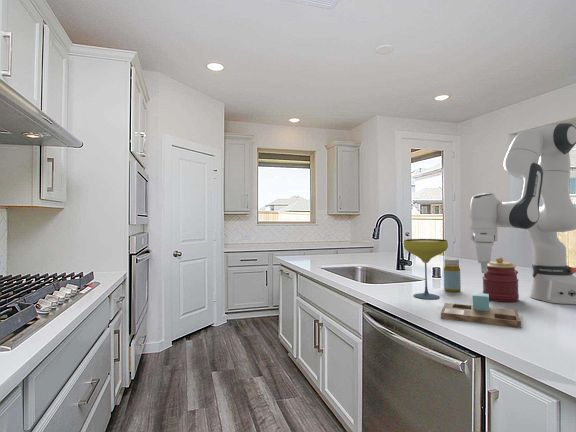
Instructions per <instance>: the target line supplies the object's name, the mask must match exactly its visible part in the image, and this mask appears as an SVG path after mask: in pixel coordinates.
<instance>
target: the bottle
mask: <svg viewBox="0 0 576 432" xmlns="http://www.w3.org/2000/svg"><path fill="white" fill-rule="evenodd" d="M443 286H444V287H443V288H444V290H445V292H451V293H459V292H461V288H462V287H461V268H460V259H459V258H453V257H449V258H447V257H445V258H444V267H443Z"/></svg>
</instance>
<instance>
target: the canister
mask: <svg viewBox="0 0 576 432" xmlns="http://www.w3.org/2000/svg"><path fill="white" fill-rule="evenodd" d="M516 267H517V266H516V265H515V264H513V263H512V262H509V261H504V259H503V257H501V256H498V257H496V258H495V261H492V260H491V261H490V263H487V273H483V276H482V293H484V294H489V301H494V302H500V303H501V302H502V303H516V302H518V301H519V298H520V293H519V279H518V274H519V270H516Z"/></svg>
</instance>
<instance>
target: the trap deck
mask: <svg viewBox="0 0 576 432" xmlns="http://www.w3.org/2000/svg"><path fill="white" fill-rule="evenodd" d="M440 319H442V320H453V321H459V322H460V321H461V322H467V323H469V322H470V323H478V324H485V325H493V326H500V327H501V326H502V327H508V328H509V327H510V328H519V329H522V321H521V317H520V314H519V312H518V309H513V308H512V309H511V308H499V307H491V306H489V311H483V310H473V304H472V305H470V304H462V303H461V304H460V303H452V302H451V303H450V302H444V305H443V306H442V309H441V311H440Z"/></svg>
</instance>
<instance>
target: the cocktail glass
mask: <svg viewBox="0 0 576 432" xmlns="http://www.w3.org/2000/svg"><path fill="white" fill-rule="evenodd" d="M403 247H404V249H405V250H406V251H407V252H408V253H410V254H412V255H413V256H415V257H417V258H419V259H420V260H421V261H422V263H424V273H425V274H424V275H425V276H424V283H425V284H424V286H425V287H424V292H423V293H422V292H420V293H419V292H418V293H415V294H413V297H414V298H417V299H420V300H427V301H428V300H430V301H431V300H439V299H440V298H441V296H440V295H438V294H433V293H430V292H429V289H428V275H427V274H428V272H427V264H428V263H429V262H430V261H431V260H432V259H433V258H434V257H437V256H438V255H439V256H440V255H442V254H443V253H444V252H445V251H447V250H448V247H449V244H448V240H446V239H439V238H438V239H437V238H410V239H404V240H403Z"/></svg>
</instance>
